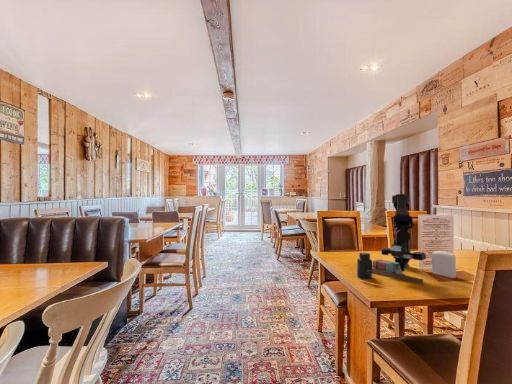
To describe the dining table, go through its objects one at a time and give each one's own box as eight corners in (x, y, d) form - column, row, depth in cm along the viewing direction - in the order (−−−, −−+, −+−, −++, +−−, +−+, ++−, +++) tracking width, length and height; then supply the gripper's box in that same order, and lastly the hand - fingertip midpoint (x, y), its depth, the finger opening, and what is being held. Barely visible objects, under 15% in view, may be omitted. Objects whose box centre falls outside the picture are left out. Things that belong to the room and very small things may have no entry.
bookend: (400, 273, 141) (399, 262, 141) (405, 274, 140) (404, 263, 140) (393, 276, 137) (393, 265, 137) (398, 277, 135) (398, 266, 135)
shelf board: (381, 270, 151) (381, 258, 151) (431, 280, 132) (431, 267, 132) (370, 273, 144) (370, 261, 144) (422, 285, 125) (422, 271, 125)
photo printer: (430, 274, 143) (430, 249, 143) (435, 273, 145) (435, 249, 145) (452, 279, 134) (452, 253, 134) (457, 278, 136) (457, 252, 136)
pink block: (383, 270, 148) (383, 260, 148) (390, 272, 144) (390, 261, 145) (377, 272, 144) (377, 261, 144) (385, 274, 141) (385, 263, 141)
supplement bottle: (370, 281, 132) (370, 255, 132) (355, 278, 135) (355, 253, 135) (373, 277, 137) (373, 252, 138) (358, 275, 141) (358, 251, 141)
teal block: (391, 272, 144) (391, 261, 144) (399, 274, 141) (399, 263, 141) (385, 274, 140) (385, 263, 141) (393, 276, 137) (393, 264, 137)
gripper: (375, 239, 139) (376, 270, 139) (416, 243, 125) (416, 279, 125) (386, 236, 146) (387, 266, 146) (426, 240, 132) (426, 274, 132)
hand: (403, 271), depth 137 cm, fingers closed
